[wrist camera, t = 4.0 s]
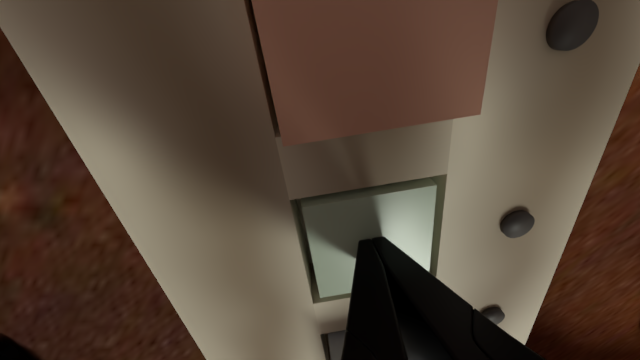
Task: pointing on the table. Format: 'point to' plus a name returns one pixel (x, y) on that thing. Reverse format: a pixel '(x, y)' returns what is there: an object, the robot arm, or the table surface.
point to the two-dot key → (373, 63)
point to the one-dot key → (367, 227)
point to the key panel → (322, 157)
